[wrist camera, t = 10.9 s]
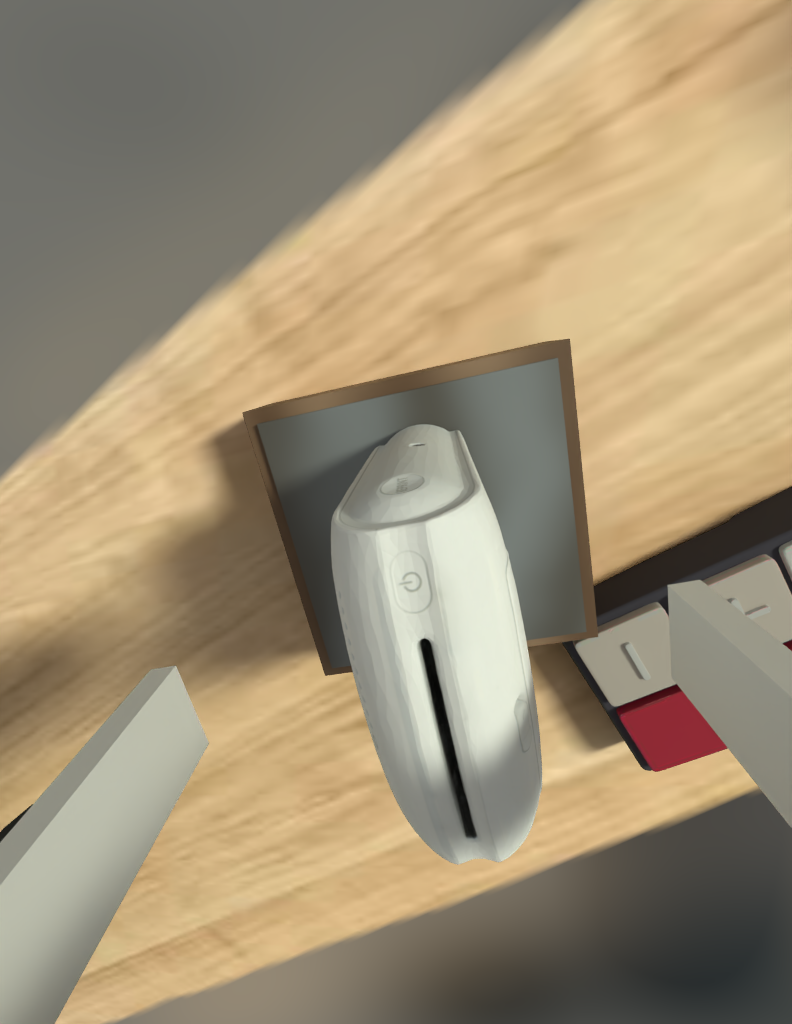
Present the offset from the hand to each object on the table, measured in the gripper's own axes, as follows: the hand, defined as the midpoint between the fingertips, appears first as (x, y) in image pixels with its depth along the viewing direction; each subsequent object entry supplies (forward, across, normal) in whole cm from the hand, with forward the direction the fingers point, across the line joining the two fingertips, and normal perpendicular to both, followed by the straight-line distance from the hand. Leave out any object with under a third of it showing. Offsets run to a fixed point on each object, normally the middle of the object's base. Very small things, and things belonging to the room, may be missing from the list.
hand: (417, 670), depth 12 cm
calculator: (+14, +15, -10) cm, 23 cm away
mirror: (+14, +1, 0) cm, 14 cm away
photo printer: (+10, +1, 0) cm, 10 cm away
